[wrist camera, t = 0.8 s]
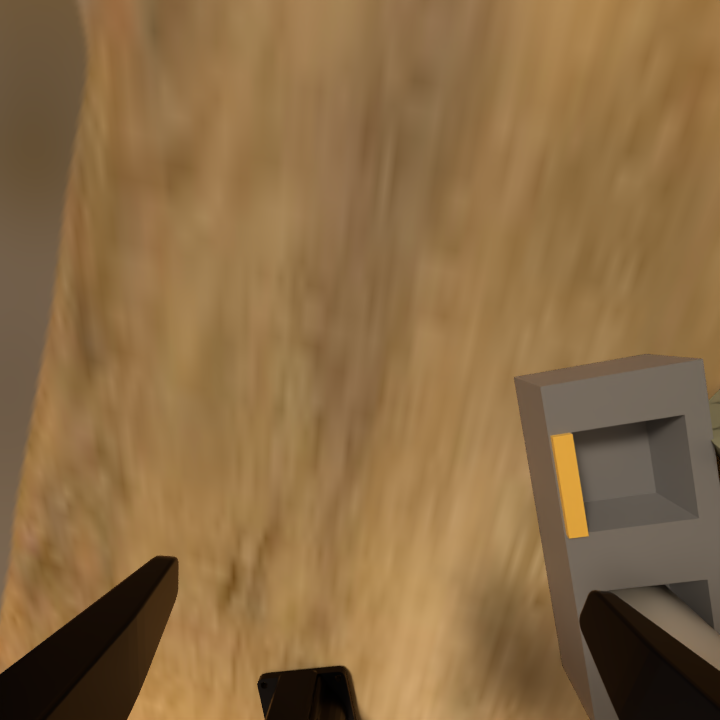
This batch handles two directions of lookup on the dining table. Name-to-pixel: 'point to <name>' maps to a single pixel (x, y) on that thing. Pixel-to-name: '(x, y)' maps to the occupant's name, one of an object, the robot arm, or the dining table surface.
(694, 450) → the compartment tray
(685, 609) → the bottle
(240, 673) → the dining table surface
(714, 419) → the spool
